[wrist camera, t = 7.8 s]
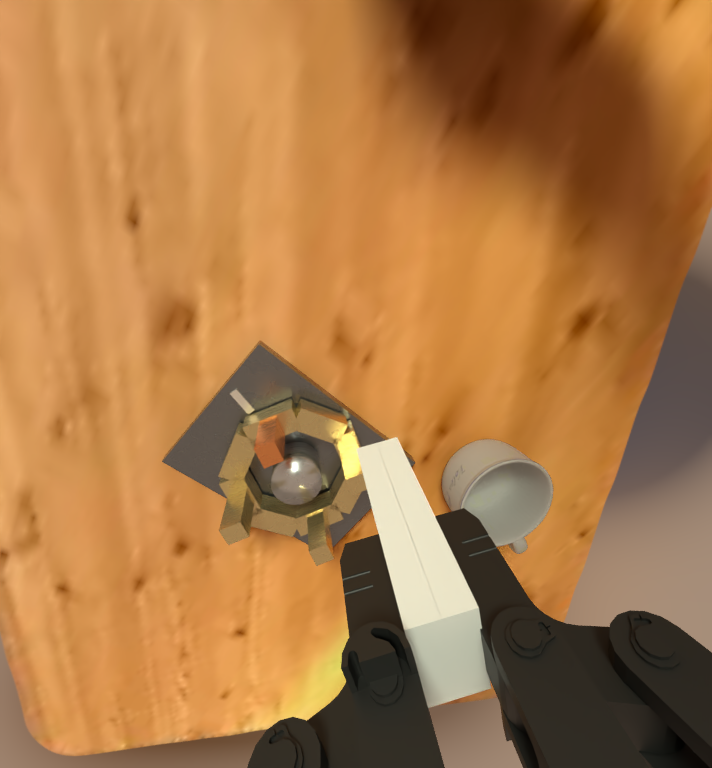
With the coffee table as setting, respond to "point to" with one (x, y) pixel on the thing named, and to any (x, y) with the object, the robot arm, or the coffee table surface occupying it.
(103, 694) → the coffee table surface
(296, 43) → the coffee table surface
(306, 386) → the housing
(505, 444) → the teacup
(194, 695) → the coffee table surface
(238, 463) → the ring nut
